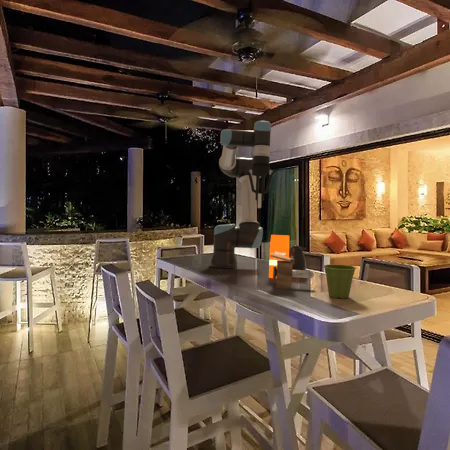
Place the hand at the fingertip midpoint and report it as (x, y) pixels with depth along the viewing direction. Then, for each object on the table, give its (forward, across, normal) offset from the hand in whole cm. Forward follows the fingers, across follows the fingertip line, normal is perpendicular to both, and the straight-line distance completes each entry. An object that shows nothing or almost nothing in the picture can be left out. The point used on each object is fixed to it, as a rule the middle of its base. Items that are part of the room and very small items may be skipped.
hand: (259, 207), depth 164 cm
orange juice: (+33, +10, +7) cm, 35 cm away
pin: (+30, +16, -14) cm, 36 cm away
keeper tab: (+21, +11, -14) cm, 28 cm away
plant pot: (+33, +32, -27) cm, 53 cm away
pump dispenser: (+33, +18, +12) cm, 39 cm away
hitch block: (+32, +12, -14) cm, 37 cm away
